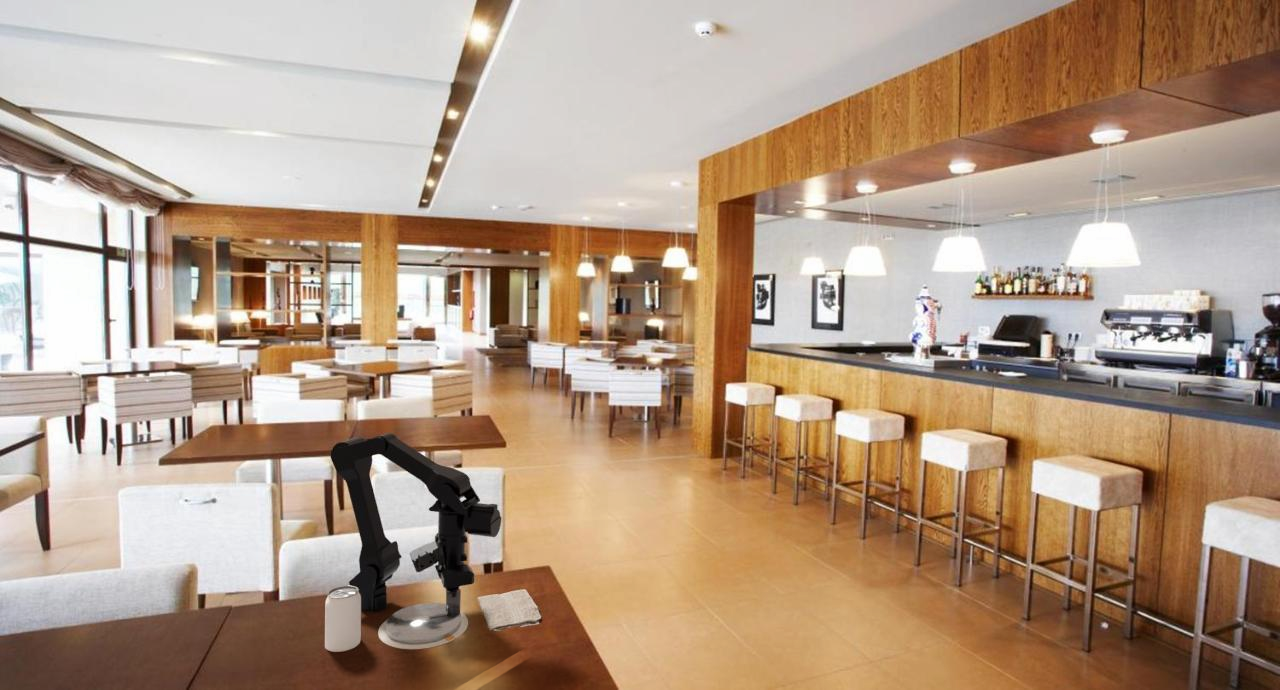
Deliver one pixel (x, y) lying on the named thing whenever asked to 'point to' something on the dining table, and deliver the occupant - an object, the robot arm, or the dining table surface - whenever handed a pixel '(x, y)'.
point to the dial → (426, 621)
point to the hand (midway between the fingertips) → (450, 599)
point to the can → (342, 619)
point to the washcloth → (509, 610)
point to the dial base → (392, 643)
